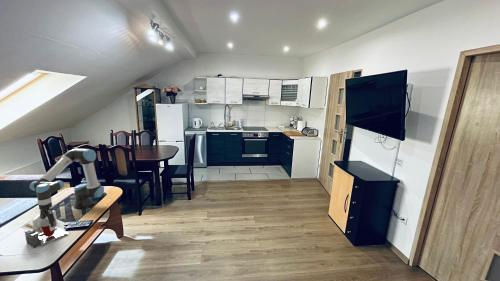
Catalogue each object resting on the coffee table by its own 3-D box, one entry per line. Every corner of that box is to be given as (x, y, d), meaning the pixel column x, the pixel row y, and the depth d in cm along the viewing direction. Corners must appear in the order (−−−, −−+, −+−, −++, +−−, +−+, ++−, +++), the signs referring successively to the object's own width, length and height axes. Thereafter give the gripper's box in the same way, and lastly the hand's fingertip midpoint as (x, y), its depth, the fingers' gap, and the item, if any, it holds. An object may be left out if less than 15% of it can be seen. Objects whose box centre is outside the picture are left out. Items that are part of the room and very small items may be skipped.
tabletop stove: (58, 228, 183) (56, 215, 181) (68, 234, 176) (67, 221, 174) (23, 242, 164) (21, 228, 161) (34, 250, 157) (32, 235, 155)
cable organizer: (49, 230, 180) (47, 217, 178) (33, 232, 176) (31, 220, 174) (57, 220, 194) (55, 209, 192) (42, 222, 190) (40, 211, 188)
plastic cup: (39, 240, 164) (37, 226, 162) (41, 233, 172) (39, 220, 170) (58, 235, 171) (56, 222, 169) (58, 229, 179) (57, 216, 177)
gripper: (31, 201, 167) (35, 226, 172) (46, 208, 158) (50, 234, 162) (43, 197, 174) (47, 221, 178) (58, 204, 165) (62, 229, 169)
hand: (48, 228), depth 170 cm, fingers closed on plastic cup, 11 cm apart
